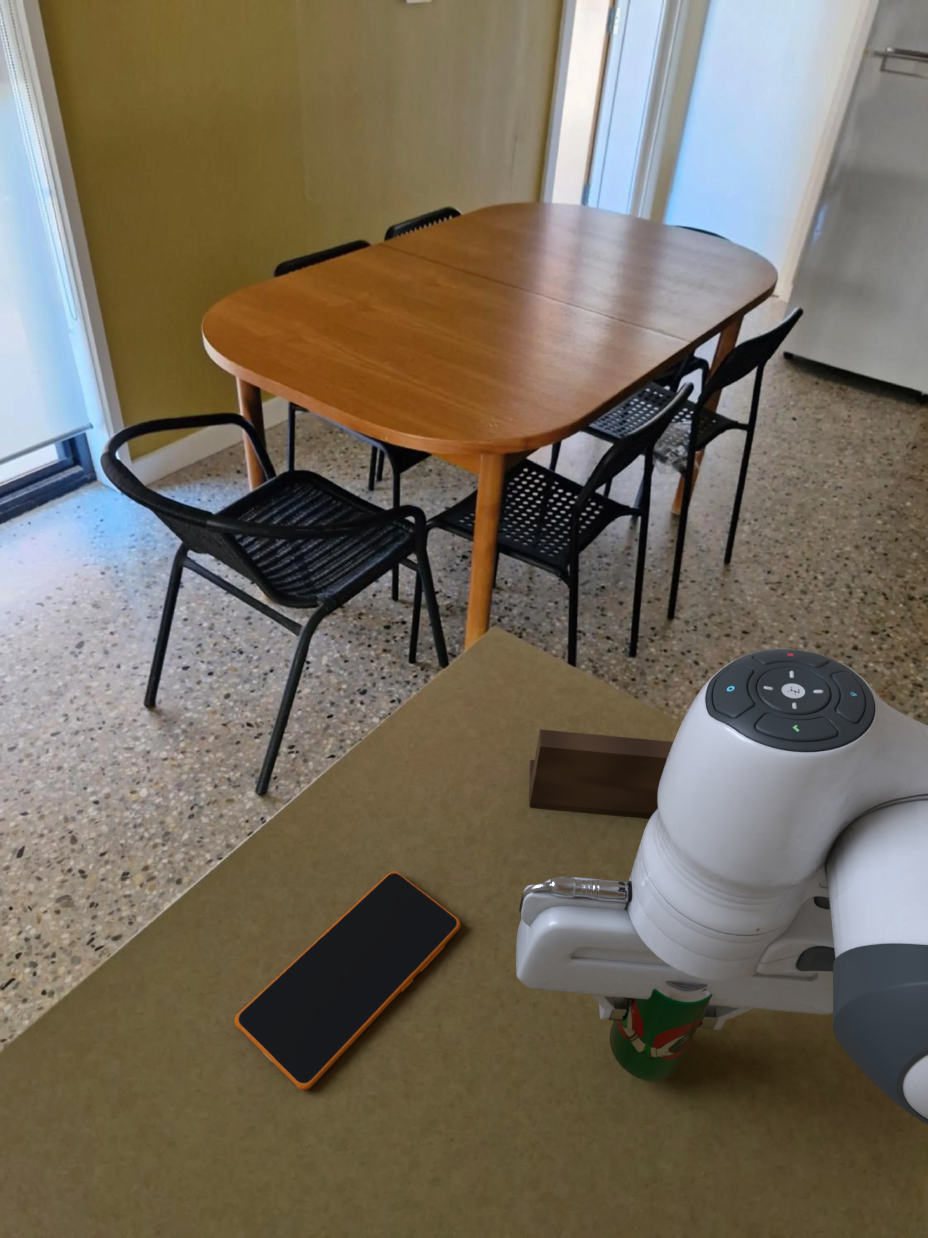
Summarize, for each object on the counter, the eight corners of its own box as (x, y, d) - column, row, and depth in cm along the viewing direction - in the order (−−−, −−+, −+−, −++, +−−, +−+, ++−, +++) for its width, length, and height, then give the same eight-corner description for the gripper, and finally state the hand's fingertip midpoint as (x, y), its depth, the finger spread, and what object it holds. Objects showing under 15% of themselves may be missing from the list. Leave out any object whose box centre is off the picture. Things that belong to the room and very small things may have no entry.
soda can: (691, 1036, 62) (735, 943, 55) (666, 1100, 59) (710, 1011, 51) (624, 999, 64) (658, 904, 57) (596, 1059, 61) (628, 967, 53)
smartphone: (231, 1024, 62) (230, 1018, 62) (393, 873, 73) (393, 867, 72) (305, 1098, 59) (304, 1092, 58) (464, 928, 69) (465, 922, 69)
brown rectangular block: (700, 781, 83) (721, 721, 78) (708, 824, 79) (731, 764, 74) (529, 765, 83) (539, 704, 78) (529, 807, 79) (540, 746, 74)
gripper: (525, 927, 48) (501, 1048, 56) (905, 961, 47) (822, 1076, 56) (525, 831, 52) (503, 956, 61) (870, 862, 52) (799, 982, 61)
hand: (658, 1014), depth 59 cm, fingers closed on soda can, 5 cm apart
